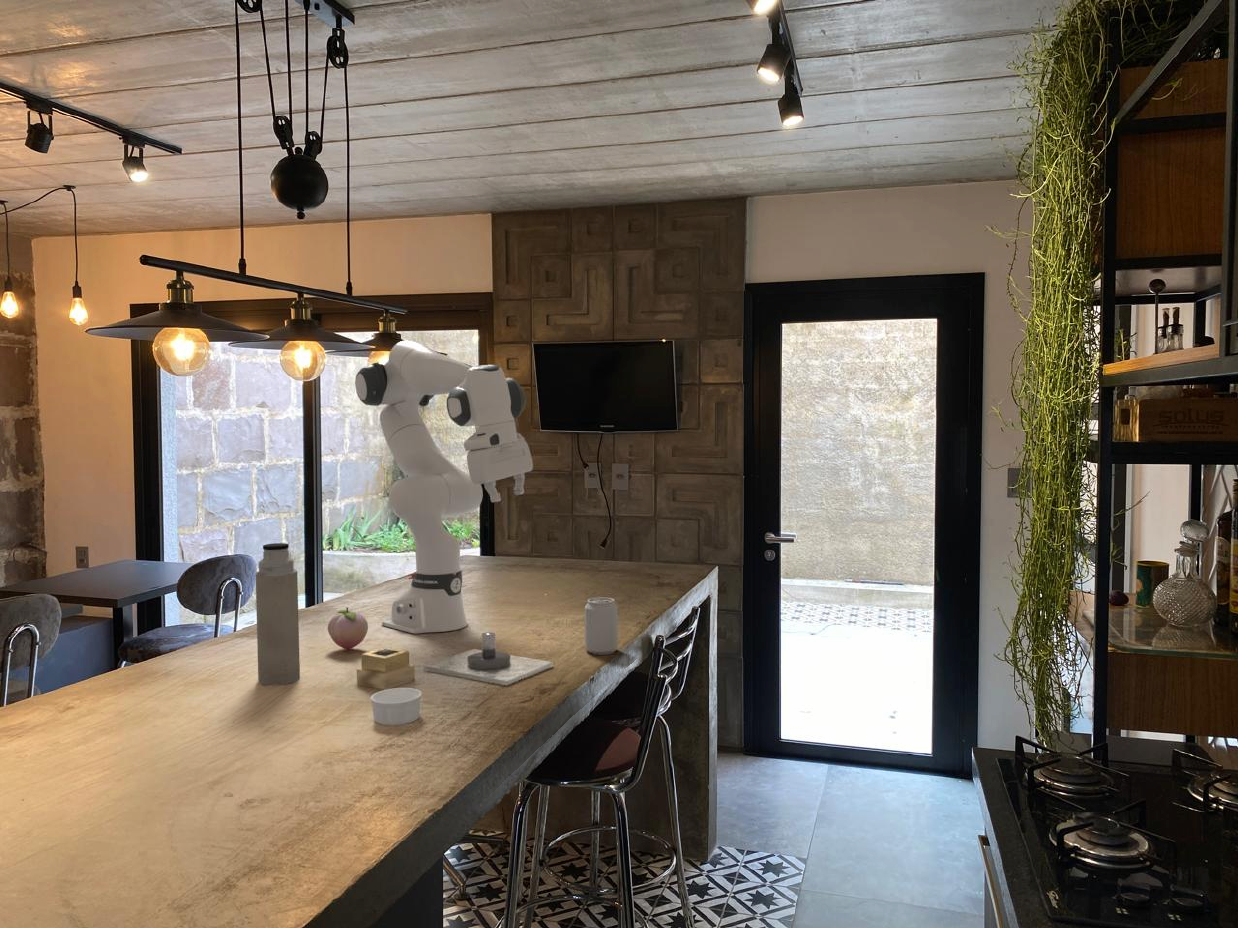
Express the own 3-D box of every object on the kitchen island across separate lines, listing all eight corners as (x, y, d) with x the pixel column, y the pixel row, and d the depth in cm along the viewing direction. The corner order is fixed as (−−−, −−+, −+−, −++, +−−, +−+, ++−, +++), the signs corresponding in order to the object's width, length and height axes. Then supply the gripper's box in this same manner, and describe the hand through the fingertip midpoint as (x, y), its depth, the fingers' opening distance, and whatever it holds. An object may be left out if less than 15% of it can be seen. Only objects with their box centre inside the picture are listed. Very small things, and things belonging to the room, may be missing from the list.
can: (614, 656, 201) (613, 603, 200) (581, 654, 203) (581, 601, 202) (620, 647, 208) (620, 596, 208) (589, 646, 210) (589, 595, 209)
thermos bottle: (276, 672, 189) (273, 540, 188) (308, 676, 187) (305, 542, 185) (249, 683, 182) (245, 545, 180) (282, 687, 179) (278, 547, 178)
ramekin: (396, 730, 154) (395, 705, 154) (360, 721, 159) (359, 697, 159) (432, 715, 162) (432, 692, 162) (397, 707, 167) (396, 684, 166)
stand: (356, 683, 181) (356, 652, 181) (386, 673, 188) (385, 644, 188) (385, 689, 177) (385, 658, 177) (414, 679, 184) (414, 649, 184)
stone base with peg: (424, 670, 191) (423, 635, 190) (473, 653, 204) (473, 620, 204) (506, 685, 179) (506, 648, 179) (553, 666, 193) (552, 632, 193)
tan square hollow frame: (361, 668, 181) (361, 654, 181) (385, 661, 187) (385, 646, 187) (385, 673, 178) (385, 658, 178) (409, 665, 184) (409, 650, 183)
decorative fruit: (376, 649, 208) (375, 607, 207) (343, 656, 202) (342, 612, 201) (354, 643, 214) (353, 601, 214) (322, 649, 208) (321, 606, 208)
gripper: (511, 433, 211) (521, 491, 212) (458, 444, 193) (470, 507, 194) (533, 430, 208) (544, 488, 209) (482, 440, 190) (494, 504, 191)
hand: (508, 497), depth 201 cm, fingers open, 8 cm apart
